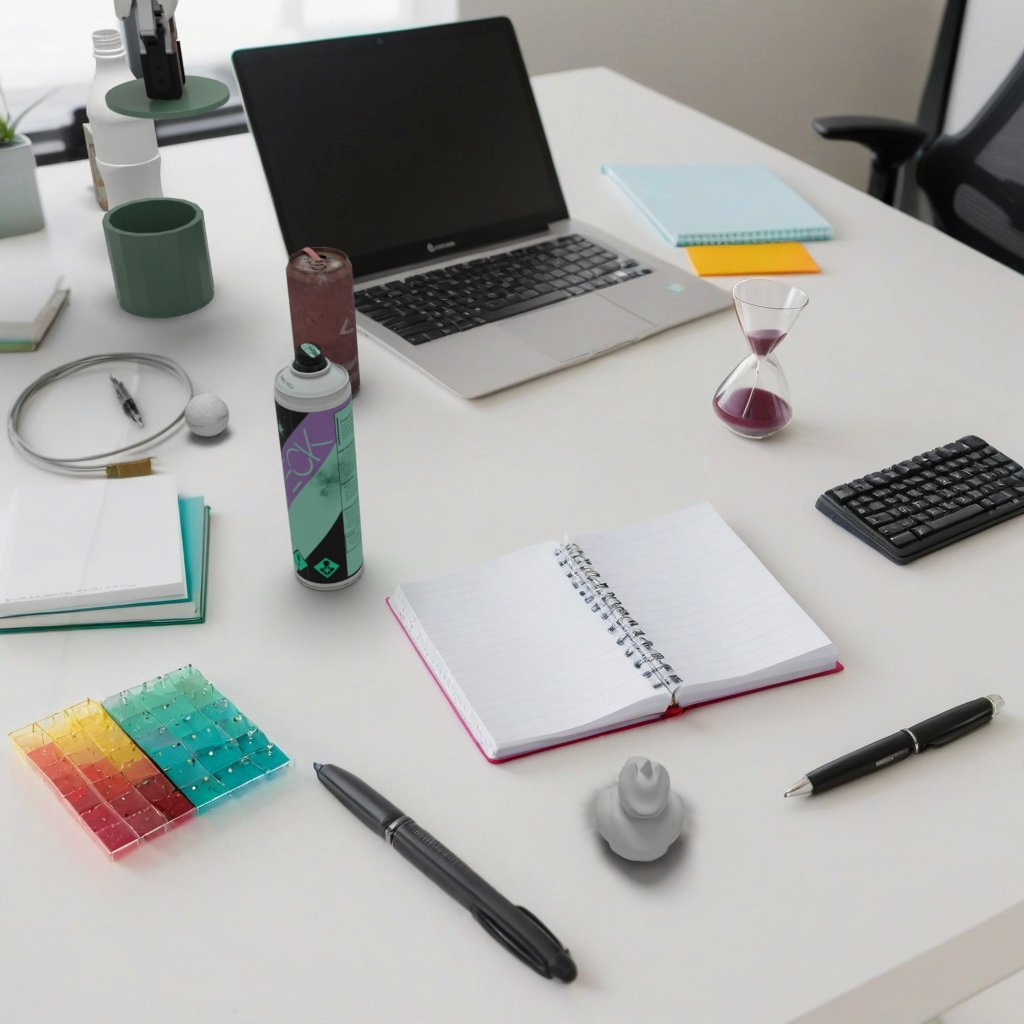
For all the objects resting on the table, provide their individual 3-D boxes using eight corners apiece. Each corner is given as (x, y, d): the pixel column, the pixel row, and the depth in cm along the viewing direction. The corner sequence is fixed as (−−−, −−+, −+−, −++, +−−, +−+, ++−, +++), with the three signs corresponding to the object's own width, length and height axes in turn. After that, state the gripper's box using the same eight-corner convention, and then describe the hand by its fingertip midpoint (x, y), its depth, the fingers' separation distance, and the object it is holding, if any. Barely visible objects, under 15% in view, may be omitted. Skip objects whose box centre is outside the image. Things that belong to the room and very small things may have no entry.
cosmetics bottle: (103, 211, 148) (88, 134, 142) (95, 200, 151) (80, 123, 145) (144, 205, 150) (130, 127, 144) (135, 193, 153) (121, 117, 147)
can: (333, 366, 118) (322, 237, 110) (372, 390, 114) (364, 259, 106) (284, 387, 115) (269, 256, 106) (323, 412, 111) (311, 278, 103)
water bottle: (128, 234, 143) (88, 22, 128) (184, 239, 142) (150, 26, 127) (104, 259, 137) (59, 39, 122) (161, 263, 136) (124, 43, 121)
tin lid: (99, 127, 104) (84, 50, 100) (115, 88, 113) (101, 16, 109) (227, 123, 106) (218, 47, 102) (233, 85, 115) (224, 14, 111)
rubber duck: (594, 876, 70) (603, 789, 65) (591, 789, 75) (599, 703, 70) (683, 879, 70) (699, 793, 65) (675, 793, 75) (689, 707, 70)
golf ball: (191, 422, 109) (185, 385, 107) (234, 421, 109) (228, 384, 107) (184, 445, 106) (178, 408, 104) (229, 444, 106) (223, 407, 104)
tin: (112, 319, 125) (95, 237, 119) (125, 277, 133) (110, 198, 128) (210, 315, 126) (198, 233, 121) (217, 274, 135) (206, 196, 129)
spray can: (312, 541, 95) (289, 324, 83) (374, 554, 94) (360, 336, 82) (283, 582, 91) (254, 359, 79) (347, 597, 90) (328, 373, 78)
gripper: (99, -144, 104) (135, 67, 115) (71, -113, 91) (115, 121, 102) (185, -144, 105) (212, 65, 116) (168, -114, 92) (202, 118, 103)
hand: (166, 89), depth 109 cm, fingers closed on tin lid, 3 cm apart
